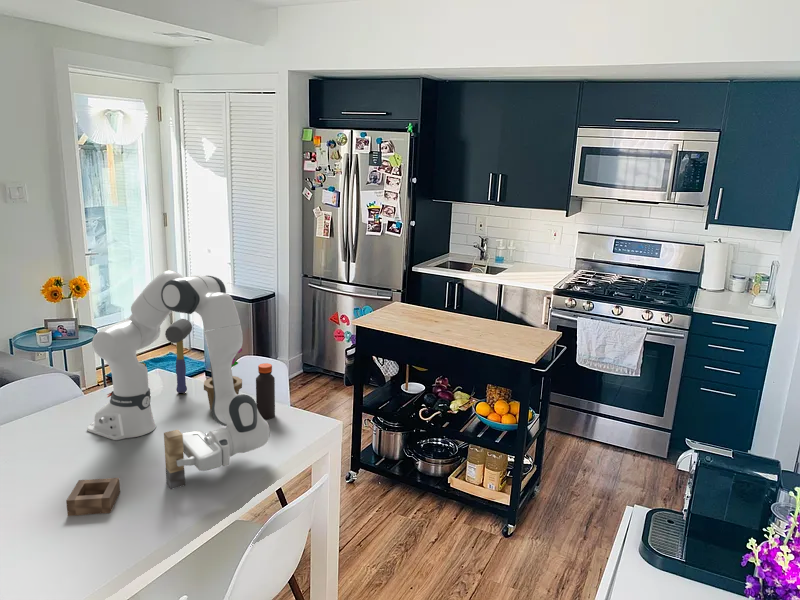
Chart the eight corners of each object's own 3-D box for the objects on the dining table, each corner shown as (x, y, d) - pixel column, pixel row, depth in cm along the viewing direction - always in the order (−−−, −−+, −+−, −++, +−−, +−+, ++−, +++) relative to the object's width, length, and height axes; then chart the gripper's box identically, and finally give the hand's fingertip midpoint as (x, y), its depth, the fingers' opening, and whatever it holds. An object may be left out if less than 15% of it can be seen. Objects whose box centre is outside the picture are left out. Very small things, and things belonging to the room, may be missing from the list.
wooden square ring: (120, 492, 171) (119, 477, 170) (110, 512, 161) (109, 497, 160) (80, 494, 169) (78, 480, 168) (67, 515, 159) (66, 500, 158)
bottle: (278, 415, 226) (278, 364, 222) (265, 421, 220) (265, 369, 216) (265, 411, 229) (265, 361, 225) (252, 417, 224) (251, 365, 219)
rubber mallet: (186, 399, 238) (182, 326, 231) (166, 398, 237) (163, 325, 231) (196, 387, 250) (193, 317, 243) (177, 387, 250) (174, 317, 243)
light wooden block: (180, 479, 179) (178, 429, 176) (185, 485, 176) (182, 434, 173) (166, 483, 177) (163, 432, 173) (170, 489, 174) (168, 438, 170)
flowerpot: (222, 417, 222) (220, 339, 216) (196, 408, 230) (193, 332, 223) (251, 405, 234) (249, 331, 227) (225, 397, 241) (223, 324, 235)
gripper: (204, 422, 190) (159, 433, 181) (230, 447, 174) (182, 460, 166) (205, 441, 191) (160, 452, 183) (231, 467, 175) (183, 481, 167)
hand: (171, 456), depth 174 cm, fingers open, 8 cm apart
